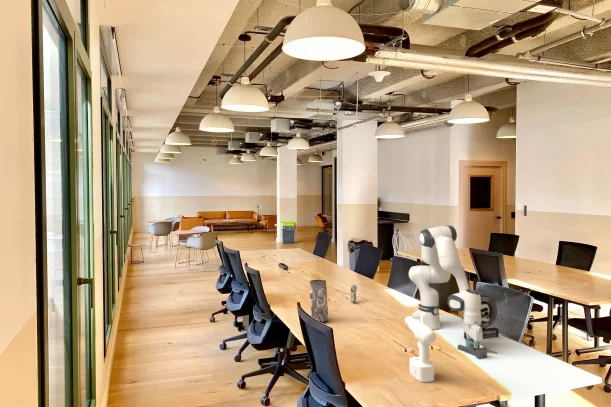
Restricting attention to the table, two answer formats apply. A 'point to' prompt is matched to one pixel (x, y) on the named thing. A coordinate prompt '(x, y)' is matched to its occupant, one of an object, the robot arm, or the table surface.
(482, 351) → the grey t-shaped bar
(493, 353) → the gold ball-headed pin
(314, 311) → the sculpture
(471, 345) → the green knobbed cube
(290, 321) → the table surface
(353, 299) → the toy
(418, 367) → the power drill
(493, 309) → the decorative sign
